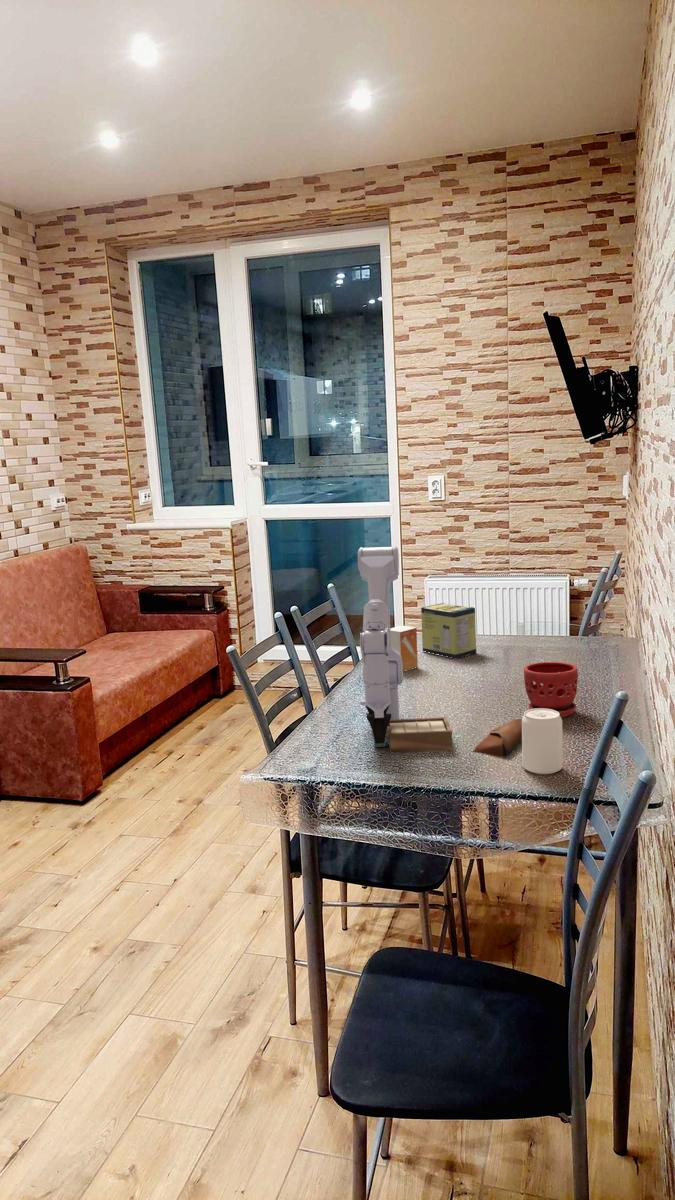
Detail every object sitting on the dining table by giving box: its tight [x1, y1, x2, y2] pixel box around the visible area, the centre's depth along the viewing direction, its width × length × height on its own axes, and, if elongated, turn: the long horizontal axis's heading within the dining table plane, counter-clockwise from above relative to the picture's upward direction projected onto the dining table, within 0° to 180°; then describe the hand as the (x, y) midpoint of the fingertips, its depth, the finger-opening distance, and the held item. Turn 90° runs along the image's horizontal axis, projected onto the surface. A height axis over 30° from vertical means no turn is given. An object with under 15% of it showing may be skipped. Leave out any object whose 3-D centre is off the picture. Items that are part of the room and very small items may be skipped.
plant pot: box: [523, 661, 579, 718], centre depth 202 cm, size 13×13×12 cm
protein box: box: [420, 602, 477, 659], centre depth 268 cm, size 10×16×16 cm
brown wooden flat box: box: [387, 716, 453, 754], centre depth 185 cm, size 10×14×4 cm
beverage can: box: [521, 708, 563, 775], centre depth 166 cm, size 8×8×12 cm
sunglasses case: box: [472, 717, 523, 758], centre depth 183 cm, size 18×7×7 cm, turn 150°
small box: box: [388, 624, 419, 672], centre depth 250 cm, size 8×6×13 cm
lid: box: [373, 721, 446, 748], centre depth 185 cm, size 8×16×5 cm, turn 90°
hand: (379, 738), depth 185 cm, fingers open, 6 cm apart
